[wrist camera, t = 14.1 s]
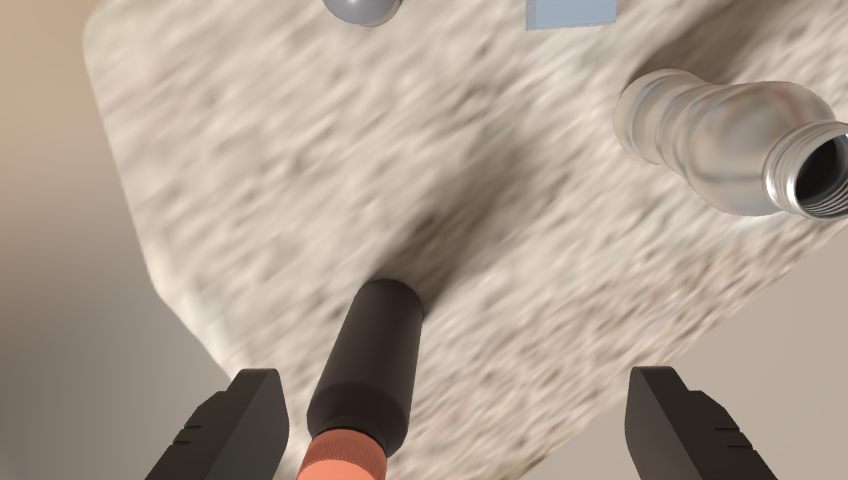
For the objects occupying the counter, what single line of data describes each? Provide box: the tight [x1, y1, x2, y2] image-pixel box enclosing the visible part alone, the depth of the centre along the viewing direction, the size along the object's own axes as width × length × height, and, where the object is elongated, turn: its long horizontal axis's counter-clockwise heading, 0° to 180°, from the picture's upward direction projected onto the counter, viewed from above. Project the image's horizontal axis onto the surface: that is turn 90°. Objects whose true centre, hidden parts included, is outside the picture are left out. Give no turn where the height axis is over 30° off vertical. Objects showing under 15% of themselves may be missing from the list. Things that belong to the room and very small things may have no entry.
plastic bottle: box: [613, 68, 848, 222], centre depth 27 cm, size 6×7×20 cm
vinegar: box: [296, 280, 423, 480], centre depth 36 cm, size 7×7×20 cm
